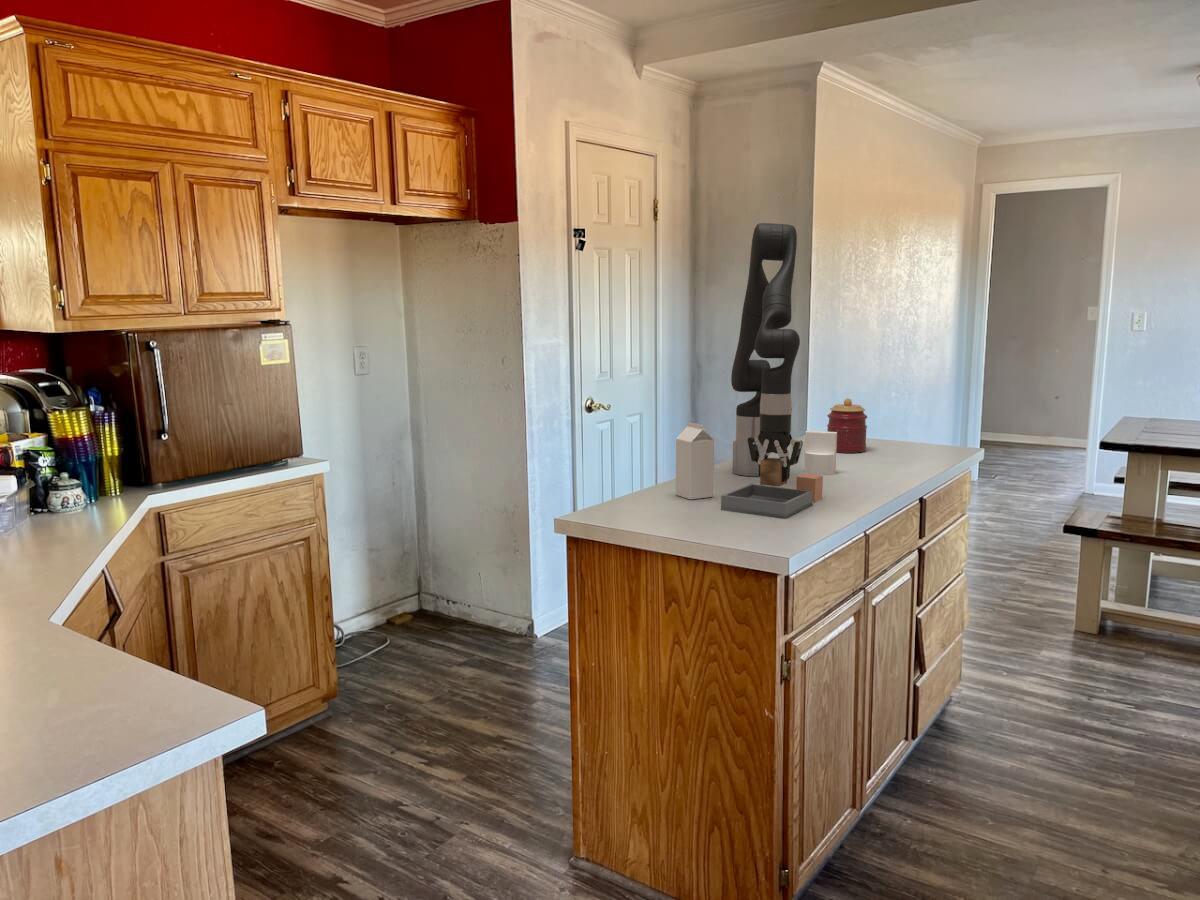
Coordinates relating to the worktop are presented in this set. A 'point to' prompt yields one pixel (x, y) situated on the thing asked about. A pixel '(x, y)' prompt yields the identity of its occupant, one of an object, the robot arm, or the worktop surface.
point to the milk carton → (694, 463)
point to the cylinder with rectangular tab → (820, 452)
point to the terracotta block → (811, 485)
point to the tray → (767, 500)
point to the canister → (848, 427)
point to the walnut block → (771, 472)
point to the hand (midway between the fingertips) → (773, 479)
